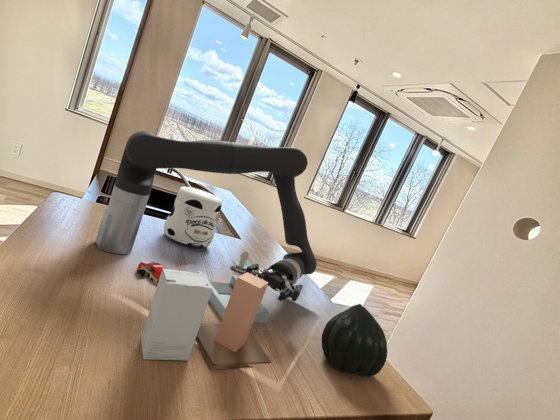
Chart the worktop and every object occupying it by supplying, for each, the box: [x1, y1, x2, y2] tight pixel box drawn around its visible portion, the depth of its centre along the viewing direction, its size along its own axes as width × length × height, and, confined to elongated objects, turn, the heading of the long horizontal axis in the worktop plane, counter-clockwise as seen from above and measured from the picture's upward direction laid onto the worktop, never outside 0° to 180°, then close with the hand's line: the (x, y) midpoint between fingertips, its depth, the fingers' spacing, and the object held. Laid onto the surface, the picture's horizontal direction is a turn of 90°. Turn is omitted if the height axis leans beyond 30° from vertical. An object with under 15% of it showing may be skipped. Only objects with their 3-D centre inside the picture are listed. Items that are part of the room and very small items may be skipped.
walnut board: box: [195, 322, 272, 371], centre depth 74 cm, size 13×13×1 cm
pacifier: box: [231, 250, 253, 274], centre depth 121 cm, size 7×6×6 cm
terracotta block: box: [214, 272, 269, 353], centre depth 73 cm, size 5×5×14 cm
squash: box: [321, 303, 388, 378], centre depth 85 cm, size 14×15×15 cm
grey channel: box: [196, 270, 271, 324], centre depth 93 cm, size 12×20×4 cm, turn 33°
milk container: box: [163, 186, 223, 249], centre depth 127 cm, size 17×17×18 cm
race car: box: [136, 260, 168, 286], centre depth 91 cm, size 13×5×4 cm, turn 52°
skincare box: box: [140, 268, 213, 361], centre depth 64 cm, size 8×6×15 cm
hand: (264, 288), depth 83 cm, fingers open, 8 cm apart
